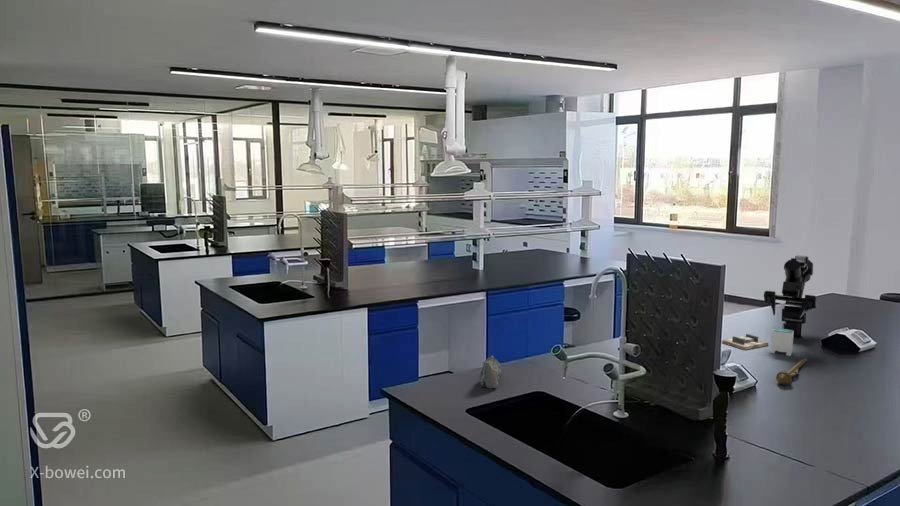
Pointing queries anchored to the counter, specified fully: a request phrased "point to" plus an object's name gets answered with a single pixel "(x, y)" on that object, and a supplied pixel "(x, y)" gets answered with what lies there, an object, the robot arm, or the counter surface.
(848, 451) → the counter surface
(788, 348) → the panel
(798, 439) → the counter surface
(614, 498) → the counter surface
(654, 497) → the counter surface
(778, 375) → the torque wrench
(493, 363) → the mineral rock
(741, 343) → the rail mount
